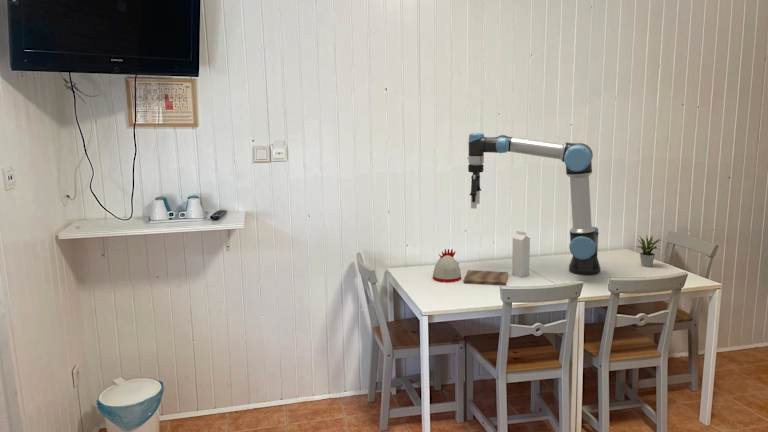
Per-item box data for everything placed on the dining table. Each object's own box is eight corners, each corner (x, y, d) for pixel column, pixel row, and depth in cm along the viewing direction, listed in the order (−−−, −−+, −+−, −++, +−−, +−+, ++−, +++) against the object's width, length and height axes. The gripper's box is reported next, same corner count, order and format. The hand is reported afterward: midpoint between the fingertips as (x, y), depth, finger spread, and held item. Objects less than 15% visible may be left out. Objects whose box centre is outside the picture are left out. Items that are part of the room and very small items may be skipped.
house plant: (664, 270, 311) (666, 239, 308) (634, 269, 315) (636, 237, 312) (661, 263, 324) (663, 232, 321) (632, 261, 329) (634, 231, 325)
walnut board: (508, 274, 310) (508, 271, 310) (505, 285, 293) (505, 282, 293) (468, 272, 315) (468, 270, 315) (463, 283, 298) (463, 280, 298)
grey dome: (464, 281, 301) (464, 251, 299) (436, 283, 299) (436, 253, 296) (456, 273, 315) (456, 244, 312) (430, 275, 313) (429, 246, 310)
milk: (521, 277, 306) (521, 233, 301) (511, 274, 310) (512, 231, 306) (529, 275, 309) (530, 231, 305) (519, 272, 314) (520, 229, 310)
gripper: (471, 161, 324) (470, 201, 328) (465, 166, 300) (464, 210, 304) (485, 161, 322) (485, 202, 326) (480, 167, 298) (480, 210, 302)
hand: (475, 206), depth 315 cm, fingers open, 13 cm apart
